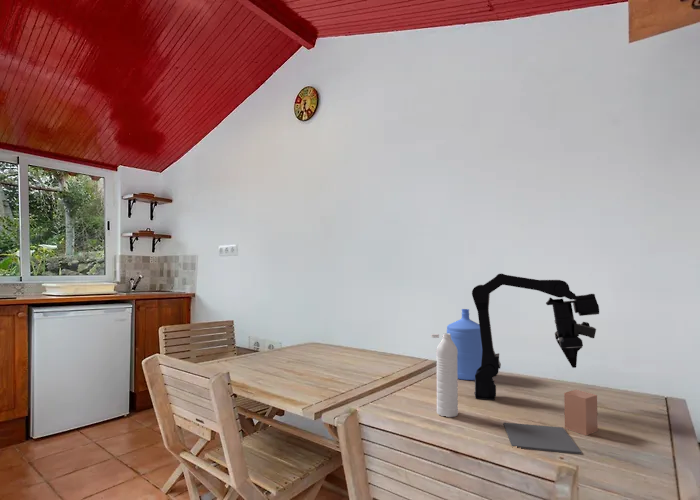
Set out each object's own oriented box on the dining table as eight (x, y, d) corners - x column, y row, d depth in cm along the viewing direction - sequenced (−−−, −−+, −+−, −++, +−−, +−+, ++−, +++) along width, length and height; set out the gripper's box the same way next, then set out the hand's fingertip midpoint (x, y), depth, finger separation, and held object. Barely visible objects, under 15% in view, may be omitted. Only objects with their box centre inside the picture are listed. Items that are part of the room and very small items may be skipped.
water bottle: (450, 409, 132) (450, 331, 133) (462, 416, 126) (461, 334, 127) (426, 412, 129) (426, 332, 130) (437, 419, 123) (437, 336, 124)
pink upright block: (564, 428, 117) (564, 392, 117) (576, 424, 120) (575, 389, 120) (586, 435, 112) (585, 398, 112) (597, 430, 115) (597, 395, 115)
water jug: (479, 382, 162) (479, 312, 163) (441, 377, 171) (441, 309, 172) (489, 374, 176) (488, 309, 177) (453, 369, 184) (453, 306, 185)
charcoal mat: (512, 447, 104) (512, 445, 104) (503, 424, 120) (503, 422, 120) (581, 454, 100) (581, 452, 101) (562, 429, 116) (562, 427, 116)
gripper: (596, 318, 125) (606, 369, 123) (586, 312, 142) (594, 357, 141) (556, 321, 129) (565, 371, 127) (551, 315, 146) (558, 359, 145)
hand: (572, 364), depth 135 cm, fingers open, 9 cm apart
